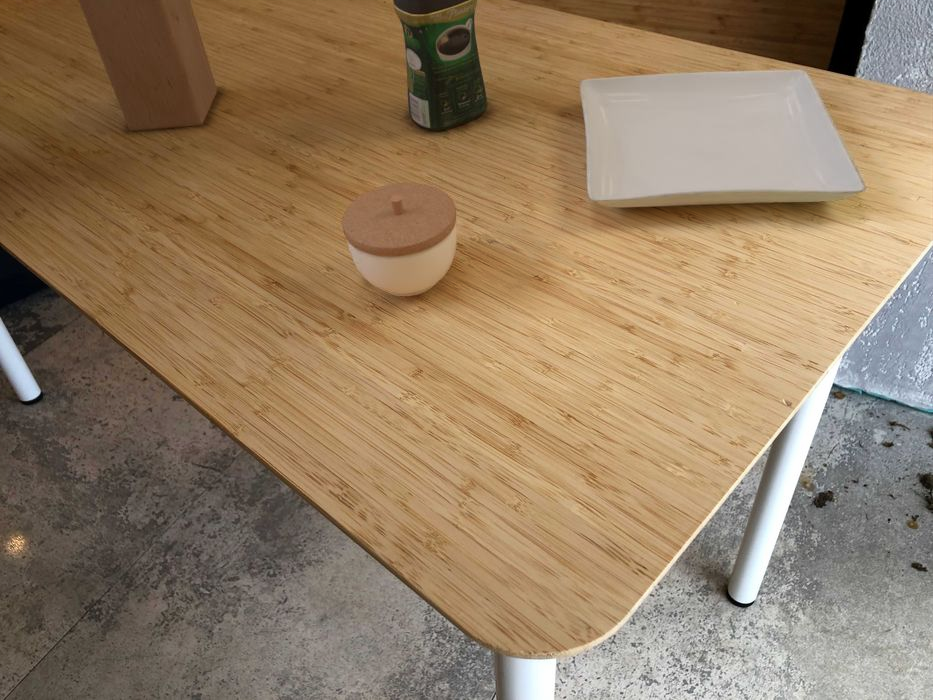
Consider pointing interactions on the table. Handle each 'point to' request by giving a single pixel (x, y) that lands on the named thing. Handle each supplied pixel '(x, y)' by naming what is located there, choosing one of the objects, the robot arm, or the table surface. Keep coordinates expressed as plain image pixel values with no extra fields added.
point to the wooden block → (153, 60)
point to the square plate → (713, 140)
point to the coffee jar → (442, 62)
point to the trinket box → (402, 236)
